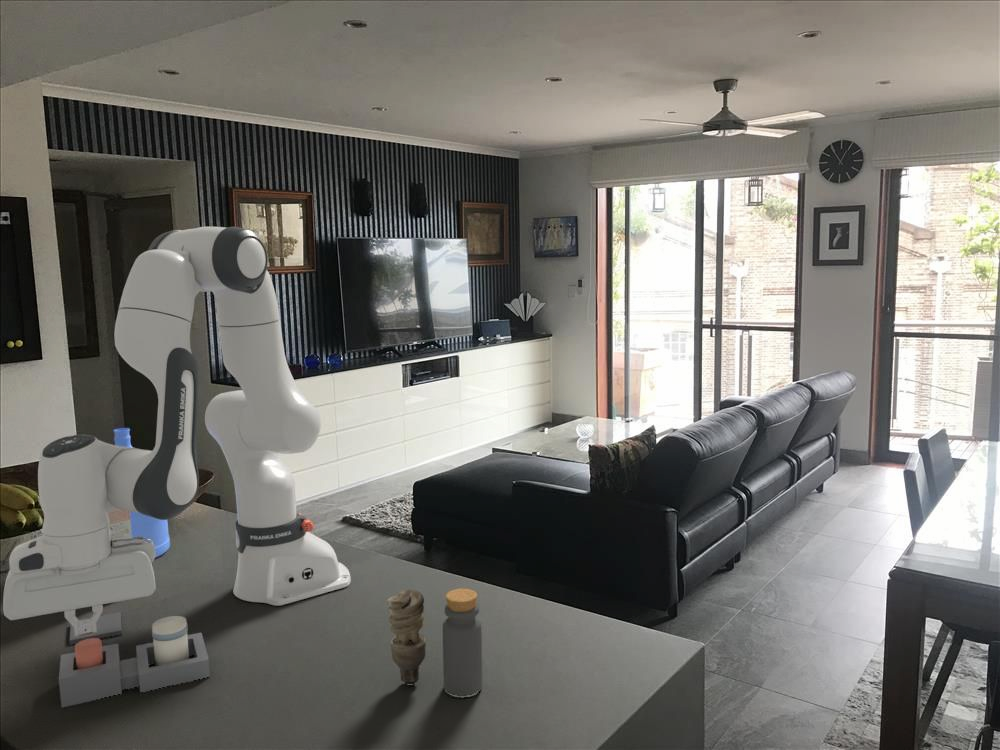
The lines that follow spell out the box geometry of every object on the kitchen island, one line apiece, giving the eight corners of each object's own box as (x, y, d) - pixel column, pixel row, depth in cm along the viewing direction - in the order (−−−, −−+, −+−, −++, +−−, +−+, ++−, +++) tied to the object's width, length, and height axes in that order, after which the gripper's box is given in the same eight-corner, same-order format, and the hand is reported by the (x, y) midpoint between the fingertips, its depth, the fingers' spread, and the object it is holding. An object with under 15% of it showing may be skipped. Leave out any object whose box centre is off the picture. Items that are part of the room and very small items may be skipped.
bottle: (461, 674, 126) (460, 583, 124) (490, 686, 122) (489, 593, 120) (435, 690, 122) (433, 596, 119) (464, 703, 118) (462, 607, 116)
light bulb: (392, 696, 120) (389, 601, 118) (387, 677, 125) (384, 586, 123) (429, 690, 121) (427, 596, 119) (423, 672, 127) (420, 582, 124)
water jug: (185, 548, 180) (176, 426, 176) (120, 572, 167) (108, 441, 163) (142, 536, 188) (132, 419, 184) (77, 558, 175) (65, 432, 171)
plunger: (104, 666, 125) (101, 636, 124) (104, 677, 122) (101, 646, 121) (78, 671, 123) (75, 641, 123) (77, 683, 120) (74, 651, 119)
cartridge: (188, 659, 131) (185, 613, 130) (192, 673, 127) (188, 626, 126) (154, 666, 129) (150, 619, 128) (156, 682, 125) (152, 633, 123)
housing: (202, 649, 135) (200, 623, 134) (210, 677, 126) (208, 650, 125) (64, 678, 126) (61, 651, 125) (61, 711, 117) (58, 682, 116)
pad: (120, 616, 147) (120, 611, 147) (121, 634, 140) (121, 630, 140) (71, 625, 144) (71, 621, 143) (70, 644, 137) (69, 640, 136)
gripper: (153, 528, 127) (159, 611, 129) (1, 549, 118) (10, 638, 120) (155, 540, 121) (161, 627, 123) (-4, 564, 112) (6, 657, 114)
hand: (86, 633), depth 121 cm, fingers closed
